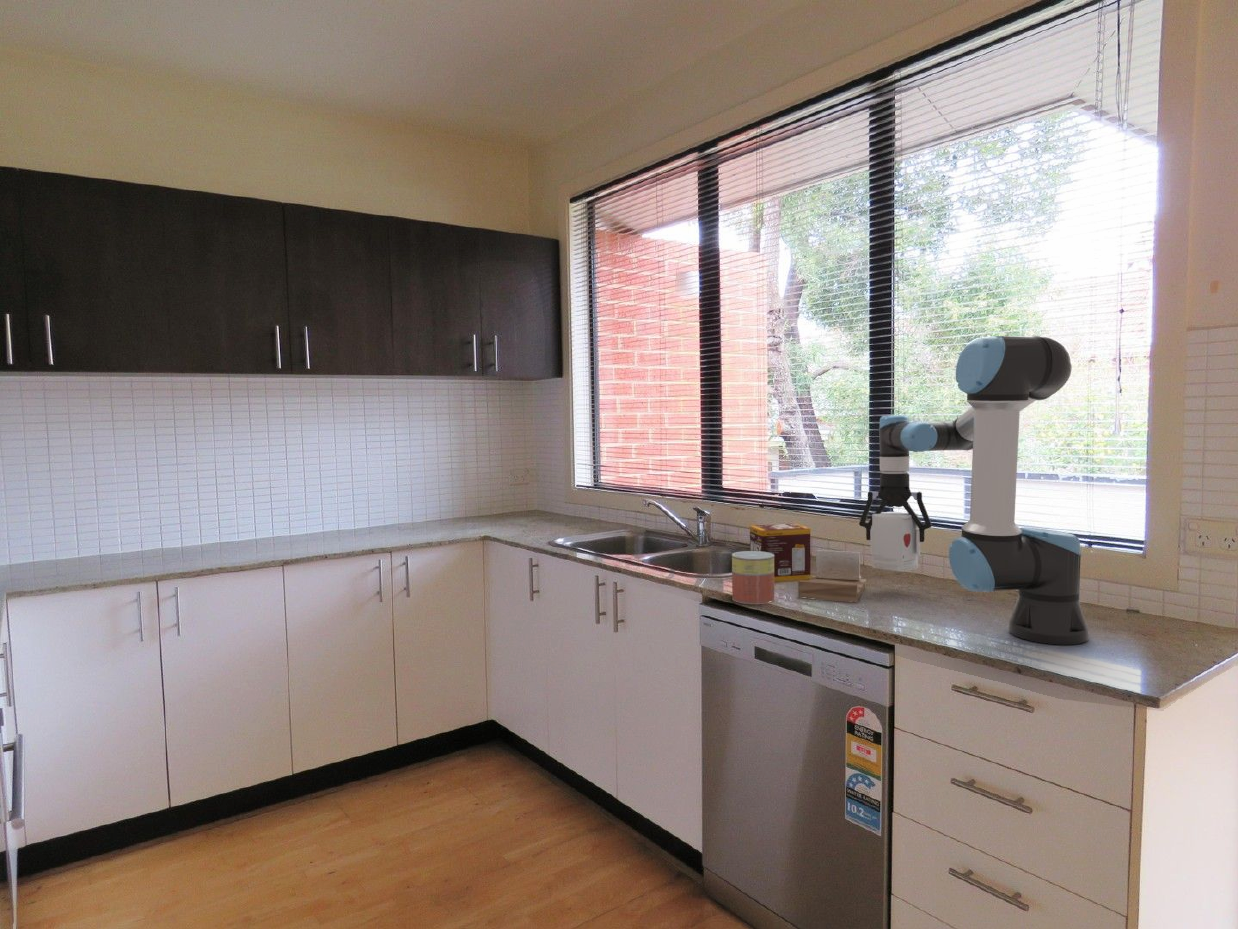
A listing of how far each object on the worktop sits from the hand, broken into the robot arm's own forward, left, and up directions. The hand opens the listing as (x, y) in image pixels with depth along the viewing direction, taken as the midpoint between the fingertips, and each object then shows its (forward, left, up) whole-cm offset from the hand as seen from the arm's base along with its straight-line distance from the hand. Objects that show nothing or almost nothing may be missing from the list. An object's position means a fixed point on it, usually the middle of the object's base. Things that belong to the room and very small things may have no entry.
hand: (895, 553), depth 206 cm
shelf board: (-4, +16, -11) cm, 19 cm away
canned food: (-20, +34, -11) cm, 41 cm away
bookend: (+6, +16, -9) cm, 19 cm away
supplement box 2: (0, 0, -4) cm, 4 cm away
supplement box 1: (+8, +33, -11) cm, 36 cm away
